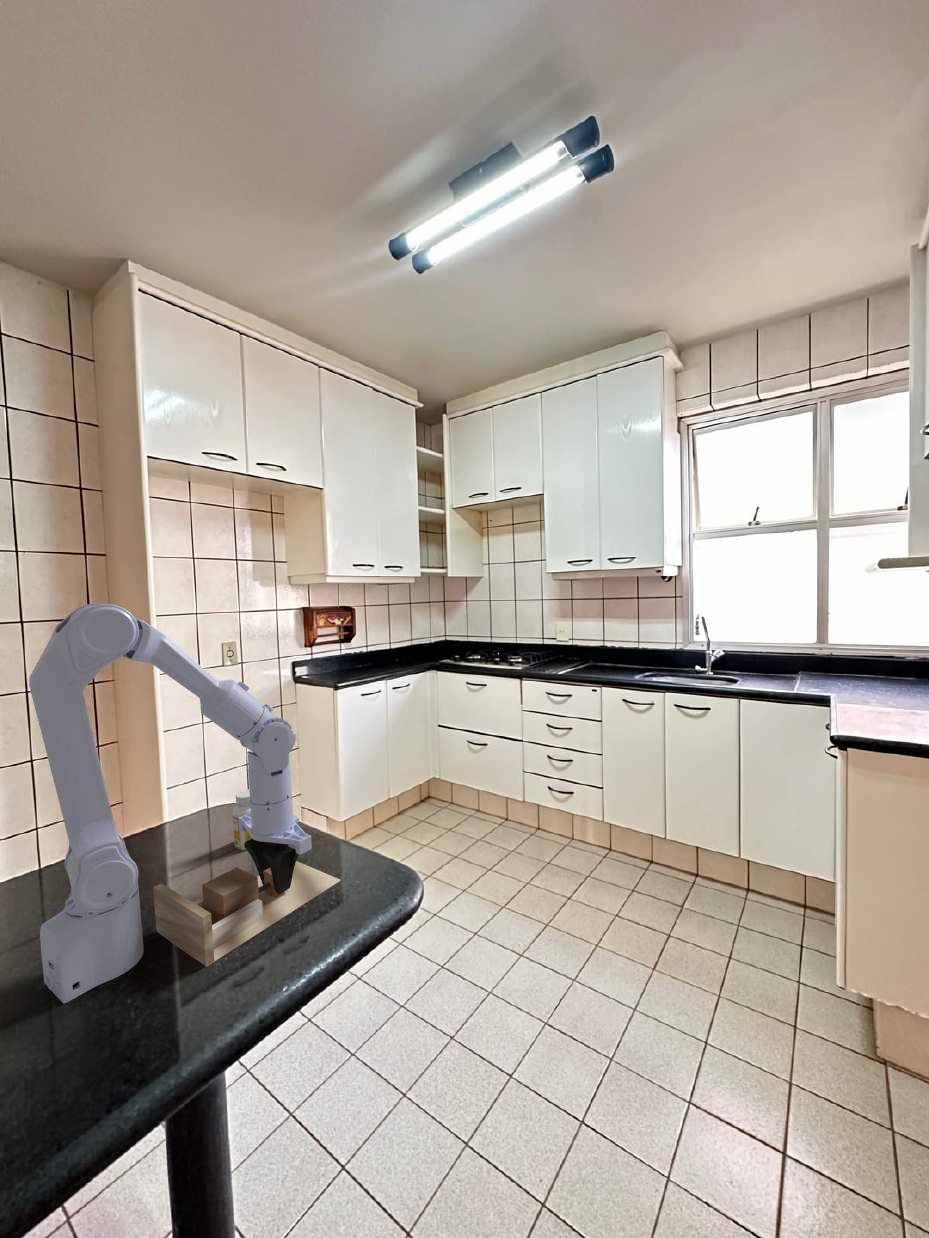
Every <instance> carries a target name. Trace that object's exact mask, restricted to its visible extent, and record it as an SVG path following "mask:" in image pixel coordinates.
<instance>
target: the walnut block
mask: <svg viewBox="0 0 929 1238" xmlns="http://www.w3.org/2000/svg"><path fill="white" fill-rule="evenodd" d="M263 872H264V885H263V886H261V887H259V888H258V876H256V875H255V874H251V873H249V872H247V871H246V870H243V869H241V868H239V867H237V866H236V867H234V868H232V869H231V870H229V871H226V872H224V873H222V874H220V875H218V876H217V877H214V878H212V879H210V880H208V881H207V882H205V883H203V884H202V887H201V888H202V897H203V903H204V909H205V910H207V911H208V912H210V913H211V920H212V925H213V924H215V923H217V922H219V921H220V920H222V919H224V918H225V917H227V916H229V915H231V914H232V913H234V912H236V911H238V910H239V909H241V908H243V907H244V906H246V905H248V904H250V903H251V902H253V901H255V900H257V899H259V893H261V892H262V891H264V890H265V892H266V893H268V894H270V895H272V896H273V897H276V896H278V895H279V894H277V893H276V891H275V889H274V885H273V879H272V873H271V869H270V868H268V869H266V870H264V871H263ZM287 890H288V889H287ZM285 891H286V890H285ZM285 891H284V892H285ZM282 893H283V892H282ZM280 894H281V893H280Z"/></svg>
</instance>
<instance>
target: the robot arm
mask: <svg viewBox="0 0 929 1238" xmlns="http://www.w3.org/2000/svg"><path fill="white" fill-rule="evenodd" d="M122 657H124V658H126V659H129V660H130V661H135V662H141V663H149V664H151V665H153V666H154V667H156V668H157V669H159V670H160V671H161V672H162V673H164V674H166V675H167V676H168V677H169V678H171V679H172V680H173V681H175V682H177V683H178V684H179V685H180V686H182V687H184V688H185V689H186V690H188V691H189V692H190V693H192V694H193V695H195V696H196V697H197V698H199V704H200V713H201V714H202V715H203V716H205V718H207V719H209V720H210V721H211V722H213V723H214V724H215V725H216V726H218V727H219V728H221V729H222V730H224V731H225V732H226V733H228V735H230V736H231V737H232V738H234V739H235V740H237V741H239V743H240V745H241V746H242V747H243V748H246V749H247V750H248V751H247V753H246V754H247V765H248V766H247V767H248V768H247V772H248V775H247V776H248V789H249V791H250V807H251V813H249V814H246V815H244V816H242V817H239V818H238V820H239V830H241V831H245V830H247V831H248V833H249V834H250V836H251V837H252V839H250V840H248V841H246V842H245V843H244V848H245V849H246V850H245V851H247V853H248V854H249V855H250V857H251V859H252V861H253V862H254V865H255V868H256V870H257V872H258V876H260V879H261V882H262V884H263V885H264V872H263V871H264V870H266V869H268V868H270V869H271V873H272V879H273V885H274V889H275V891H276V893H277V894H280V893H282V892H284V891H285V890H287V889H289V888H290V886H291V881H292V876H293V871H294V867H295V863H296V861H298V858H299V856H300V855H303V854H305V853H307V852H308V851H310V850H312V848H313V847H312V835H310V834H308V833H306V832H305V831H304V830H303V829H302V828H301V827H300V825H299V824H298V823H299V822H300V817H299V816H298V815H295V814H294V810H293V809H294V808H293V791H292V789H293V788H292V776H291V775H292V773H291V762H290V761H291V760H290V753H291V751H292V750H293V748H294V746H295V744H296V740H297V734H295V733H294V732H293V730H292V729H293V728H292V726H291V724H290V723H289V722H288V721H286V720H285V719H283V718H281V717H277V716H276V715H273V713H272V712H273V710H274V708H273V707H272V705H270V704H267V703H266V704H263V703H262V702H260V701H259V700H258V699H257V698H256V697H254V696H253V694H251V693H250V692H249V689H250V687H249V685H247V684H246V683H245V682H242V681H238V683H237V682H236V681H235V680H233V679H227V680H226V679H225V680H218V679H216V677H214V676H213V675H212V674H211V673H210V672H208V671H207V670H206V669H205V668H204V667H203V666H201V665H200V664H199V663H198V662H197V661H196V660H194V659H193V658H192V657H191V656H190V655H189V654H187V652H185V651H184V650H183V649H181V648H180V647H179V646H178V644H176V643H175V642H174V641H173V640H171V639H170V638H169V637H168V636H167V635H165V634H164V633H163V632H161V631H159V630H158V629H156V628H155V627H154V626H152V625H150V624H149V623H147V622H146V621H144V620H143V619H140V618H135V616H134V615H133V614H132V613H131V612H130V611H129V610H127V609H126V608H124V607H122V606H120V605H117V604H112V603H88V604H85V605H82V606H80V607H78V608H76V609H75V610H73V611H72V612H71V613H69V614H68V615H67V616H66V617H65V618H64V619H63V620H61V621H60V622H59V623H58V624H57V625H55V627H54V630H53V632H52V634H51V637H50V638H49V640H48V643H47V644H46V646H45V647H44V650H43V652H42V653H41V655H40V657H39V659H38V660H37V663H36V665H35V667H34V668H33V670H32V672H31V674H30V676H29V680H28V685H29V690H30V695H31V698H32V703H33V705H34V710H35V714H36V717H37V721H38V726H39V728H40V732H41V733H40V734H41V737H42V741H43V745H44V747H45V748H44V749H45V752H46V756H47V760H48V764H49V768H50V773H51V775H52V779H53V783H54V787H55V792H56V795H57V800H58V802H59V803H58V804H59V808H60V812H61V814H62V819H63V822H64V826H65V830H66V834H67V839H68V848H67V852H66V855H65V858H64V869H65V872H66V874H67V875H68V880H69V884H70V893H69V895H68V898H66V900H65V902H64V904H65V905H64V908H63V909H62V910H61V911H59V913H58V914H56V915H55V916H53V917H52V918H50V919H48V920H46V921H45V922H43V923H42V924H41V925H40V929H39V941H40V952H41V953H40V954H41V963H42V964H41V965H42V974H43V982H44V984H45V985H46V986H47V988H48V989H49V990H50V991H51V992H53V994H54V995H55V996H56V997H57V998H58V999H59V1000H60V1002H62V1004H64V1005H65V1004H66V1003H69V1002H70V1001H72V1000H74V999H76V998H77V997H79V996H81V995H83V994H85V993H87V992H88V991H90V990H92V989H94V988H96V987H97V986H99V985H102V984H105V983H107V982H109V981H111V980H114V979H116V978H117V977H120V976H121V975H123V974H125V973H126V972H128V971H130V970H131V969H132V968H133V967H134V966H136V965H137V964H138V963H139V962H140V960H141V958H142V957H143V955H144V951H145V950H144V949H145V948H144V940H143V928H142V926H143V925H142V915H141V913H142V912H141V902H140V901H141V900H140V891H139V890H140V889H139V888H140V887H139V882H138V880H139V870H138V869H139V867H138V866H137V863H136V862H135V861H134V860H133V859H132V857H131V855H130V854H129V852H128V849H127V847H126V842H125V840H124V839H123V837H122V836H121V835H120V834H119V831H118V829H117V825H116V822H115V820H114V816H113V811H112V806H111V802H110V800H109V795H108V791H107V786H106V782H105V779H104V774H103V769H102V765H101V761H100V758H99V753H98V749H97V745H96V742H95V737H94V732H93V728H92V724H91V720H90V717H89V712H88V707H87V704H86V703H87V702H86V700H85V694H84V690H85V689H86V687H87V686H89V685H90V683H91V682H92V681H93V680H94V678H95V677H96V676H98V674H99V673H100V672H101V671H102V669H103V668H105V667H107V666H108V665H110V664H111V663H113V662H115V661H117V660H119V659H120V658H122ZM75 984H77V985H76V986H74V985H75ZM73 986H74V987H73Z"/></svg>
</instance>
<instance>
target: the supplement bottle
mask: <svg viewBox="0 0 929 1238" xmlns="http://www.w3.org/2000/svg"><path fill="white" fill-rule="evenodd" d="M235 803H236V805H235V806H234V807H233V809H232V827H233V843H234V844H233V845H234V848H235V849H236V850H239V851H240V850H241V851H247V850H246V849H245V848H244V843H245V842H246V841H248V840H250V839H252V837H251V836H250V834H249V833H248V831H247V830H245V831H241V830H239V820H238V818H239V817H242V816H244V815H246V814H249V813H251V807H250V791H249V788H248V789H243V790H240V791H238V792H237V793H236V794H235Z"/></svg>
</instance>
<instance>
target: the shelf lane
mask: <svg viewBox="0 0 929 1238" xmlns="http://www.w3.org/2000/svg"><path fill="white" fill-rule="evenodd" d="M257 877H258V888H259V887H261V886H263V884H262V882H261V879H260V876H259V875H257ZM340 881H342V879H339V878H338V877H336V876H333V875H330V874H328V873H325V872H324V871H321V870H319V869H316V868H314V867H311V866H309V865H307V864H304V863H303V862H299V861H298V860H296V863H295V867H294V871H293V876H292V881H291V886H290V888H289V889H288V890H286V891H285V892H283V893H281V894H279V895H278V896H276V897H273V896H272V895H270V894H268V893H266V892H265V890H264V891H262V892H261V893H259V899H257V900H255V901H253V902H251V903H250V904H248V905H246V906H244V907H243V908H241V909H239V910H238V911H236V912H234V913H232V914H231V915H229V916H227V917H225V918H224V919H222V920H220V921H219V922H217V923H215V924H213V925H212V920H211V913H210V912H208V911H207V910H205V909H204V903H203V896H201V897H200V898H198V899H196V900H195V901H191V900H190V899H188V898H186V897H185V896H184V895H181V894H180V893H178V892H176V891H175V890H173V889H171V888H170V887H168V886H166V885H164V884H163V883H159V884H157V885H155V886H153V890H152V891H153V901H154V911H155V914H154V915H155V924H156V926H155V927H156V933H158V934H160V935H161V936H162V937H164V938H165V939H167V940H168V941H169V942H171V943H172V944H174V945H175V946H177V947H178V948H179V949H181V950H182V951H183V952H185V953H186V954H188V955H189V956H191V958H193V959H195V960H196V961H198V962H199V963H200V964H202V965H203V966H204V967H209V966H210V965H212V964H213V963H215V962H216V961H218V960H219V959H221V958H223V957H224V956H226V955H227V954H228V953H230V952H232V951H233V950H235V949H236V948H238V947H240V946H241V945H243V944H244V943H247V942H248V941H249V940H251V939H252V938H253V937H255V936H257V935H258V934H260V933H262V932H263V931H264V930H266V929H267V928H269V927H271V926H273V925H274V924H275V923H277V922H279V921H280V920H282V919H284V918H285V917H286V916H287V915H289V914H291V913H292V912H294V911H296V910H297V909H299V908H300V907H302V906H303V905H305V904H307V903H308V902H309V901H311V900H313V899H315V897H317V896H319V895H320V894H323V892H325V891H327V890H328V889H330V888H331V887H333V886H334V885H336V884H337V883H339V882H340Z"/></svg>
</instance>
